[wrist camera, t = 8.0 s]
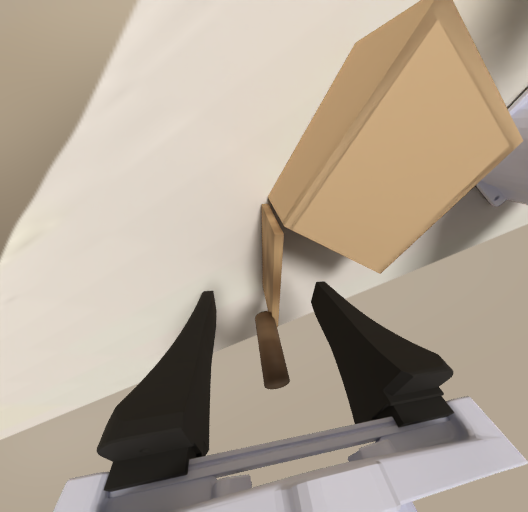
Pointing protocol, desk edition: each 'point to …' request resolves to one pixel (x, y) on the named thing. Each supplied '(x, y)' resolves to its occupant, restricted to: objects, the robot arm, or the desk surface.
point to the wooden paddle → (271, 303)
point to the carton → (396, 138)
